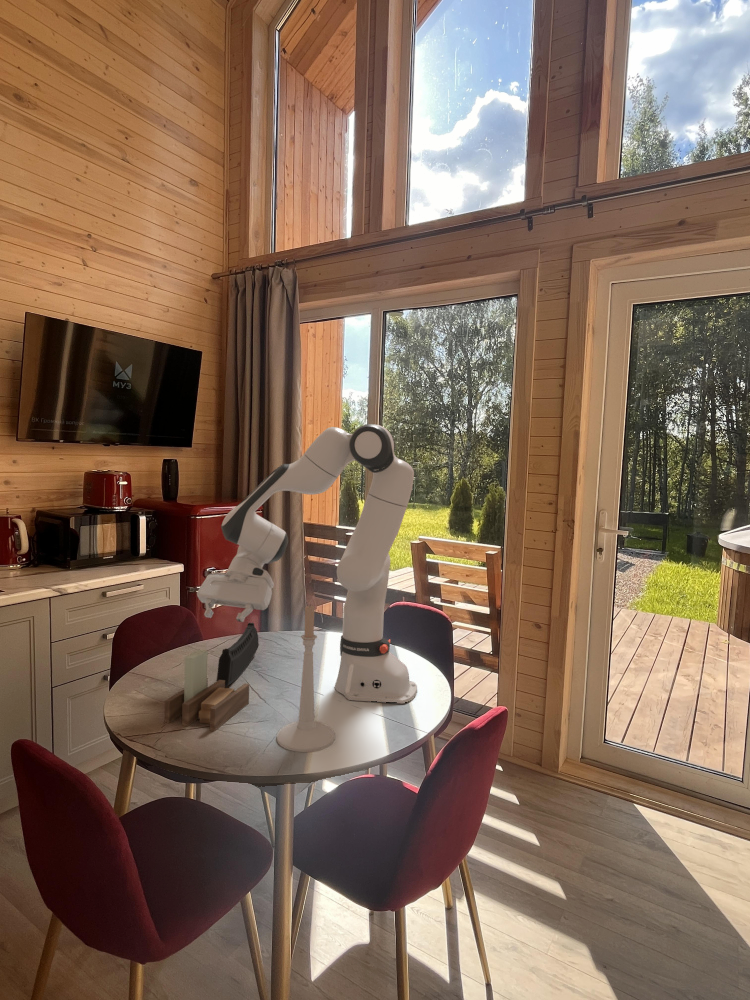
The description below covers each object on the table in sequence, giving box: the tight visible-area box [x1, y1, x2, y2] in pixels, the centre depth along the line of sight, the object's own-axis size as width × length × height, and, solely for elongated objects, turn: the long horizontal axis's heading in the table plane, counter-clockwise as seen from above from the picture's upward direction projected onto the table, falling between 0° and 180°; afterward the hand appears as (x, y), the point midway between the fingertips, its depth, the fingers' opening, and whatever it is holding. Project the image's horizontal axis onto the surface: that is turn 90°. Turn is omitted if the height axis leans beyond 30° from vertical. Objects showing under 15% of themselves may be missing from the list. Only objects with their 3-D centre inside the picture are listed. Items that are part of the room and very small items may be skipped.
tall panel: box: [183, 649, 209, 703], centre depth 139 cm, size 2×6×14 cm, turn 165°
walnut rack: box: [164, 677, 250, 732], centre depth 138 cm, size 13×16×5 cm
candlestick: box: [276, 605, 336, 753], centre depth 127 cm, size 13×13×30 cm
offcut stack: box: [199, 687, 235, 724], centre depth 138 cm, size 4×11×4 cm, turn 171°
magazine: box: [216, 622, 260, 688], centre depth 166 cm, size 17×3×30 cm
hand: (223, 618), depth 150 cm, fingers open, 8 cm apart
